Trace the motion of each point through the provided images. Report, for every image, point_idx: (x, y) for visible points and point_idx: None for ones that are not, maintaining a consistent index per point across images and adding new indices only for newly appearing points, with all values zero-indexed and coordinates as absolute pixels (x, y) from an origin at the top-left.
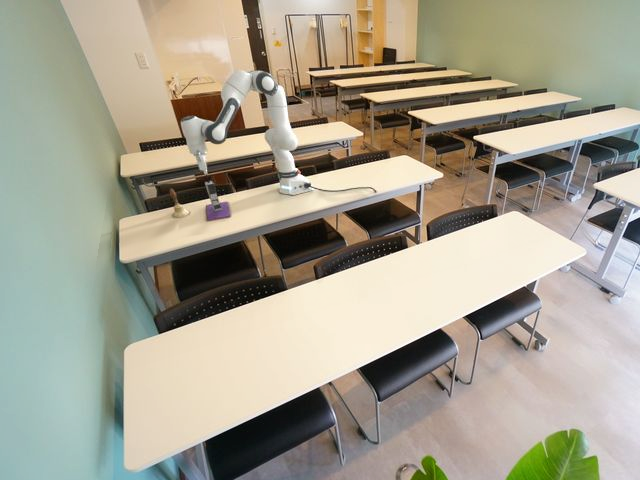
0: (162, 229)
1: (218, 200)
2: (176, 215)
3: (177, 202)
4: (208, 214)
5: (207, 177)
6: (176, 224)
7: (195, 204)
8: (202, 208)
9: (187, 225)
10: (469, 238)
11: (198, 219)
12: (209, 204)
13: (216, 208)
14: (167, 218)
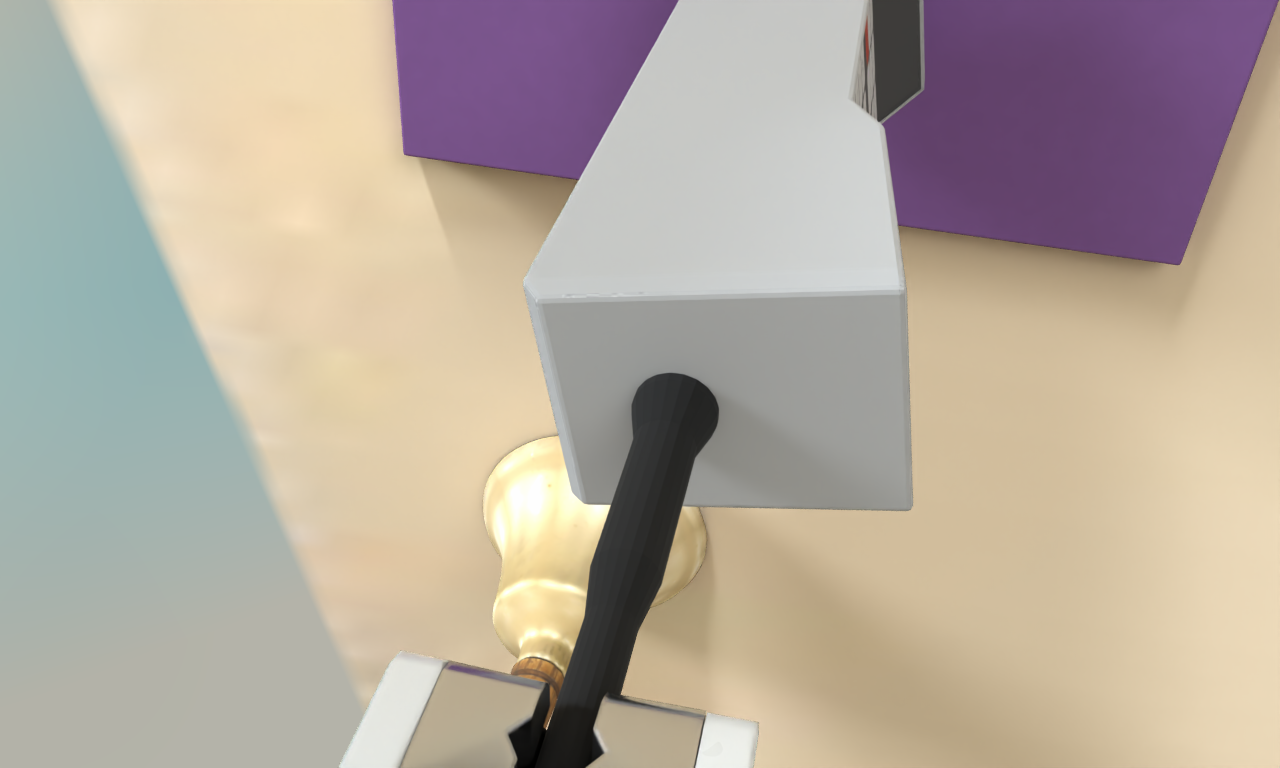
0: (999, 763)
1: (864, 8)
2: (665, 597)
3: (548, 678)
4: (925, 207)
5: (664, 562)
6: (949, 630)
7: (265, 293)
8: (496, 229)
9: (1107, 537)
10: None
11: (976, 371)
12: (405, 101)
13: (914, 54)
14: (654, 664)
